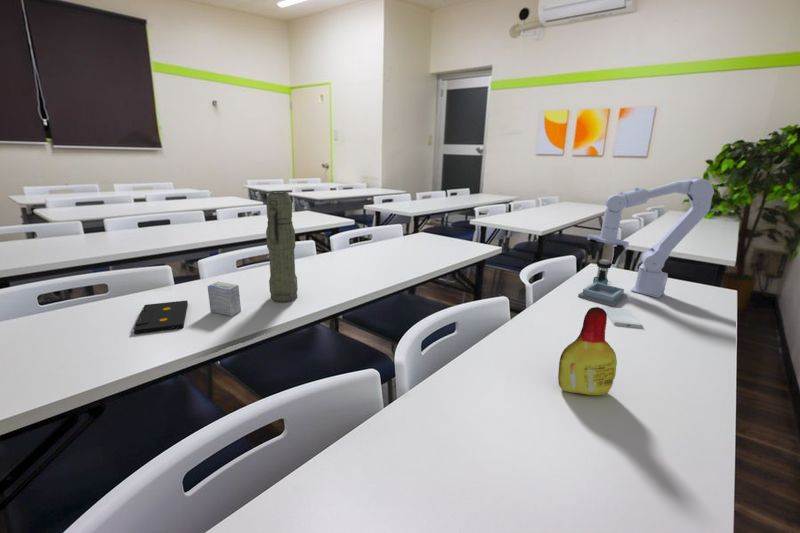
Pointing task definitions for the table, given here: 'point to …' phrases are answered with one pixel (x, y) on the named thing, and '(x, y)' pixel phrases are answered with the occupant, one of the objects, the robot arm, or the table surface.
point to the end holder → (603, 294)
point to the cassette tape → (161, 317)
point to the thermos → (281, 247)
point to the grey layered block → (224, 298)
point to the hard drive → (622, 317)
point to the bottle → (588, 358)
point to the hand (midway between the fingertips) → (603, 261)
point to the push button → (602, 271)
